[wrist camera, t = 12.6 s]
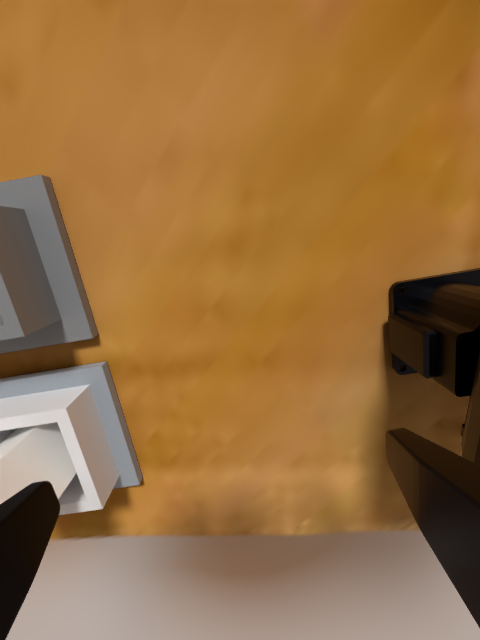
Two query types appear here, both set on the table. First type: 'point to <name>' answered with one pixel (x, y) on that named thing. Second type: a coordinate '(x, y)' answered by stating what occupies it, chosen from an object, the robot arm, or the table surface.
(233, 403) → the table surface
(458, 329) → the robot arm
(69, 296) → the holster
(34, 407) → the port panel
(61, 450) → the plug
